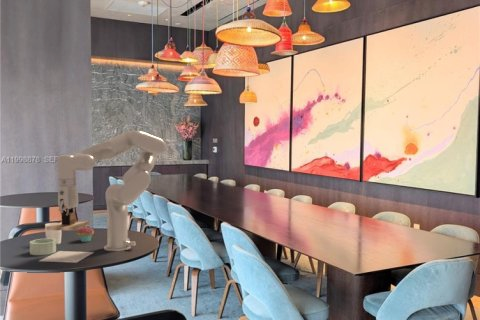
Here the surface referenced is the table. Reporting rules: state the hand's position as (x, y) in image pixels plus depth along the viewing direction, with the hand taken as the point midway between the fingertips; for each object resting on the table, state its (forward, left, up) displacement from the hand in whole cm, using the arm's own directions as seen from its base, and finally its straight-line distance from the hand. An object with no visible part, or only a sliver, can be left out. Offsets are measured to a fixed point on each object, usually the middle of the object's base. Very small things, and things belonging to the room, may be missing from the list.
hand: (68, 222), depth 187 cm
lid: (0, 0, -2) cm, 2 cm away
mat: (0, 0, -15) cm, 16 cm away
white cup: (+20, -24, -16) cm, 35 cm away
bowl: (+15, -6, -15) cm, 23 cm away
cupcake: (+7, -32, -16) cm, 36 cm away
